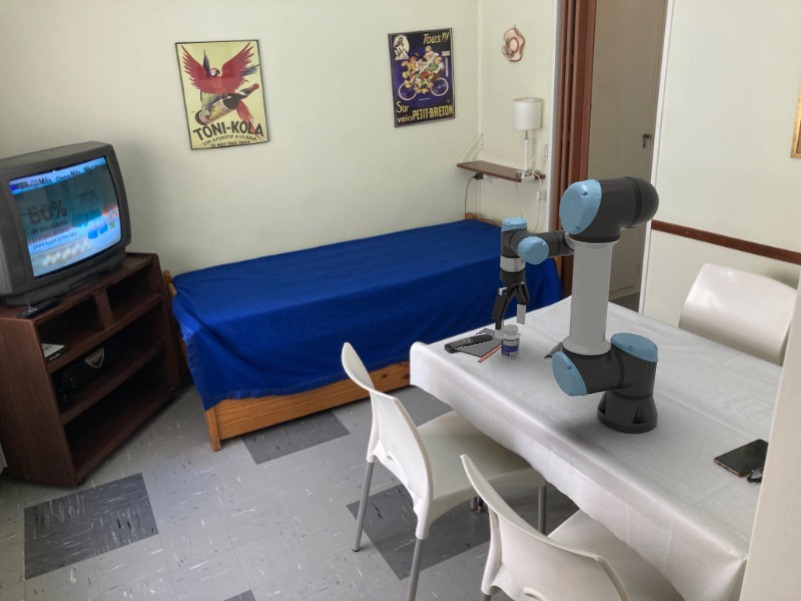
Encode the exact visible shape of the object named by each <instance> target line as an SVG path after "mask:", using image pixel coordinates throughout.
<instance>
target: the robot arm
mask: <svg viewBox="0 0 801 601" xmlns="http://www.w3.org/2000/svg"><path fill="white" fill-rule="evenodd" d="M659 204H660V197H659V193H658V191H657V189H656V187H655V186H654V185H653V183H651V182H650V181H648V180H646V179H645V178H643V177H639V176H636V175H635V176H634V175H633V176H631V175H628V176H627V175H626V176H621V177H618V176H617V177H609V178H608V177H607V178H595V179H592V178H591V179H586V180H582V181H576V182H573V183H572V184H570V185H569V186H568V187H567V189H566V190H565V191H564V192H563V194H562V197H561V200H560V204H559V211H558V212H559V213H558V214H559V220H561V221H560V225H561V227H562V229H560V230H553V231H551V230H550V231H542V232H536V233H533V232H530V231H528V222H527V220H526V218H523V217H516V216H515V217H514V216H512V217H511V216H510V217H506V218H504V219H503V220H502V222H501V230H500V234H501V235H500V239H501V240H500V264H499V267H500V269H499V270H500V271H499V279H500V281H501V282H502V283H503V286H502V288H501V287H497V291H496V296H495V302H494V305H493V307H492V311H491V316H490V319H491V320H493V321H495V322H494V330H495V338H498V339H502V340H503V339H504V326H505V319H504V317H505V314H506V313H507V312H506V311H507V309H508V306H509V304H510V302H512V300H513V298H516V301H517V302H518V304H516V324H520V325H523V326H524V325H525V324H526V312H527V311H526V310H527V306H529V305H530V300H531V297H530V293H529V290H528V289H529V288H528V286H527V277H525V275H526V269H525V268H526V263H529V264H531V265H538V264H541V263H542V262H544V261H545V260H546V259H549V258H550V259H551V258H558V257H564V256H573V263H572V264H573V266H572V269H573V270H572V280H571V283H572V284H571V285H572V286H571V301H570V316H569V331H568V332H569V333H568V335H567V336H566V337H565V338H564V339H562V342H563V343H562V351H558V352H557V353H555V354H554V355H553V357H552V356H551V357H552V358H551V369H552V374H553V376H554V379H555V381H556V384H557V386H558V387H559V389H560V390H561V391H562V393H564V394H565V395H567V396H569V397H579V396H580V397H581V396H582V397H586V396H588V395H592V394H599V393H603V395H602V396H601V398H600V400H599V402H598V404H597V411H596V415H597V419H598V420H599V421H600V423H602V424H603V425H604V426H606V427H607V428H610V429H611V430H615V431H617V432H622V433H628V434H641V433H646V432H649V431H650V430H652V429H654V428H655V427H656V426H657V423H658V411H657V407H656V402H655V399H654V391H655V390H654V389H655V388H654V387H655V382H656V381H655V380H656V374H657V373H656V372H657V366H658V363H659V358H658V357H659V356H658V354H659V353H658V352H659V348H658V346H657V344H656V343H655V342H654V341H653V340H651V339H650V338H647V337H646V336H643V335H641V334H640V335H639V334H636V333H631V332H616V333H614V334H612V335H611V337H610V339H609V340H608V339H607V338H606V332H607V318H608V308H609V296H610V283H611V271H612V257H613V247H614V246H615V245H616V244H617V243H618V242H619V241H621V233H622V230H624V229H627V230H628V229H629V230H632V229H636V228H639V227H640V226H642V225H645V224H647V223H648V222H650V221H651V220H652V219H654V217H655V215H656V214H657V211H658V210H659V206H660V205H659Z"/></svg>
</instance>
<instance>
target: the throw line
mask: <svg viewBox="0 0 801 601" xmlns="http://www.w3.org/2000/svg"><path fill="white" fill-rule="evenodd" d="M517 333H518V334H519V336H521V334H522V333H520V332H517ZM499 350H501V345H499V346H498V347H496V348H495V349H494V350H492V351H491V352H489V353H488V354H486V355H485V356H483V357H482V358H479V359H478V360H477V363H482V362H483V361H484V360H486V359H488V358H489V357H491V356H492V355H494V354H495V353H496V352H498V351H499Z"/></svg>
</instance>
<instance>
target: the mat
mask: <svg viewBox="0 0 801 601" xmlns="http://www.w3.org/2000/svg"><path fill="white" fill-rule="evenodd" d="M482 333H486V334H492V336H493V340H491V341H487V342H483V343H479V344H474V345H470V346H464V347H463V346H461V347H458V348H454V347H453V348H454V349H455V350H454V351H456V352H460V353H463V354H466V355H471V356H473V357H476V358H479V359H481V358H482V357H484V356H485V355H487V354H488V353H490V352H491V351H492V350H494V349H495V348H497V347H498V346H500V345H501V339H498V338H495V329H490V328H487V327H484V328H482V329H481V330H479V331H478V332H476V333H475V334H476V335H477V334H482Z"/></svg>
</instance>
